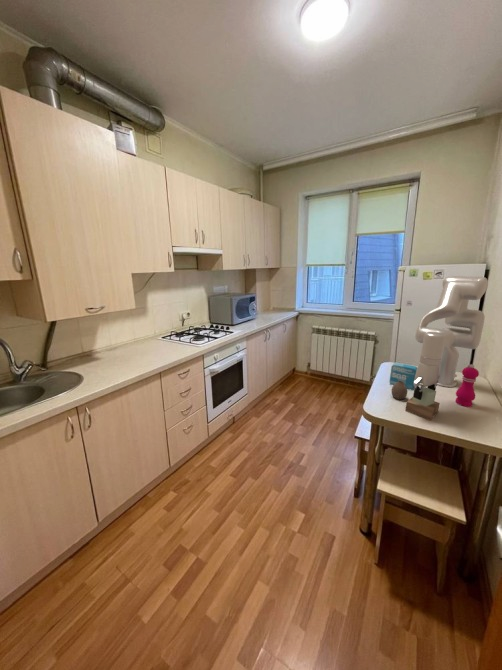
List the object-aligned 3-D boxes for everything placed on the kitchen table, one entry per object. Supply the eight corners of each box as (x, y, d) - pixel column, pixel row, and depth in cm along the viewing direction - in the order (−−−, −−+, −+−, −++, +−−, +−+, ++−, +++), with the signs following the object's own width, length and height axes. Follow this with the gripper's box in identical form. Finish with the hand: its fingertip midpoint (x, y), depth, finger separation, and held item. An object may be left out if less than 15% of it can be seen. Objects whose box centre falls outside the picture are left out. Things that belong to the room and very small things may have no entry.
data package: (389, 384, 147) (391, 364, 144) (390, 381, 150) (393, 361, 147) (413, 390, 140) (417, 369, 137) (414, 387, 143) (418, 366, 140)
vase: (408, 401, 128) (411, 385, 126) (393, 400, 129) (395, 384, 127) (403, 395, 135) (405, 379, 132) (389, 393, 136) (391, 378, 134)
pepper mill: (469, 401, 128) (478, 362, 123) (476, 408, 122) (485, 368, 116) (451, 398, 130) (459, 361, 125) (457, 405, 124) (466, 366, 119)
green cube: (420, 397, 122) (422, 385, 121) (433, 403, 117) (436, 391, 116) (412, 400, 120) (414, 388, 118) (425, 406, 115) (427, 394, 113)
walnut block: (413, 404, 126) (415, 394, 125) (437, 412, 119) (439, 402, 118) (405, 411, 120) (406, 401, 119) (430, 420, 113) (432, 410, 111)
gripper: (433, 354, 120) (427, 388, 125) (409, 361, 113) (403, 396, 117) (451, 359, 114) (444, 395, 118) (427, 366, 106) (420, 404, 111)
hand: (423, 396), depth 118 cm, fingers open, 9 cm apart
